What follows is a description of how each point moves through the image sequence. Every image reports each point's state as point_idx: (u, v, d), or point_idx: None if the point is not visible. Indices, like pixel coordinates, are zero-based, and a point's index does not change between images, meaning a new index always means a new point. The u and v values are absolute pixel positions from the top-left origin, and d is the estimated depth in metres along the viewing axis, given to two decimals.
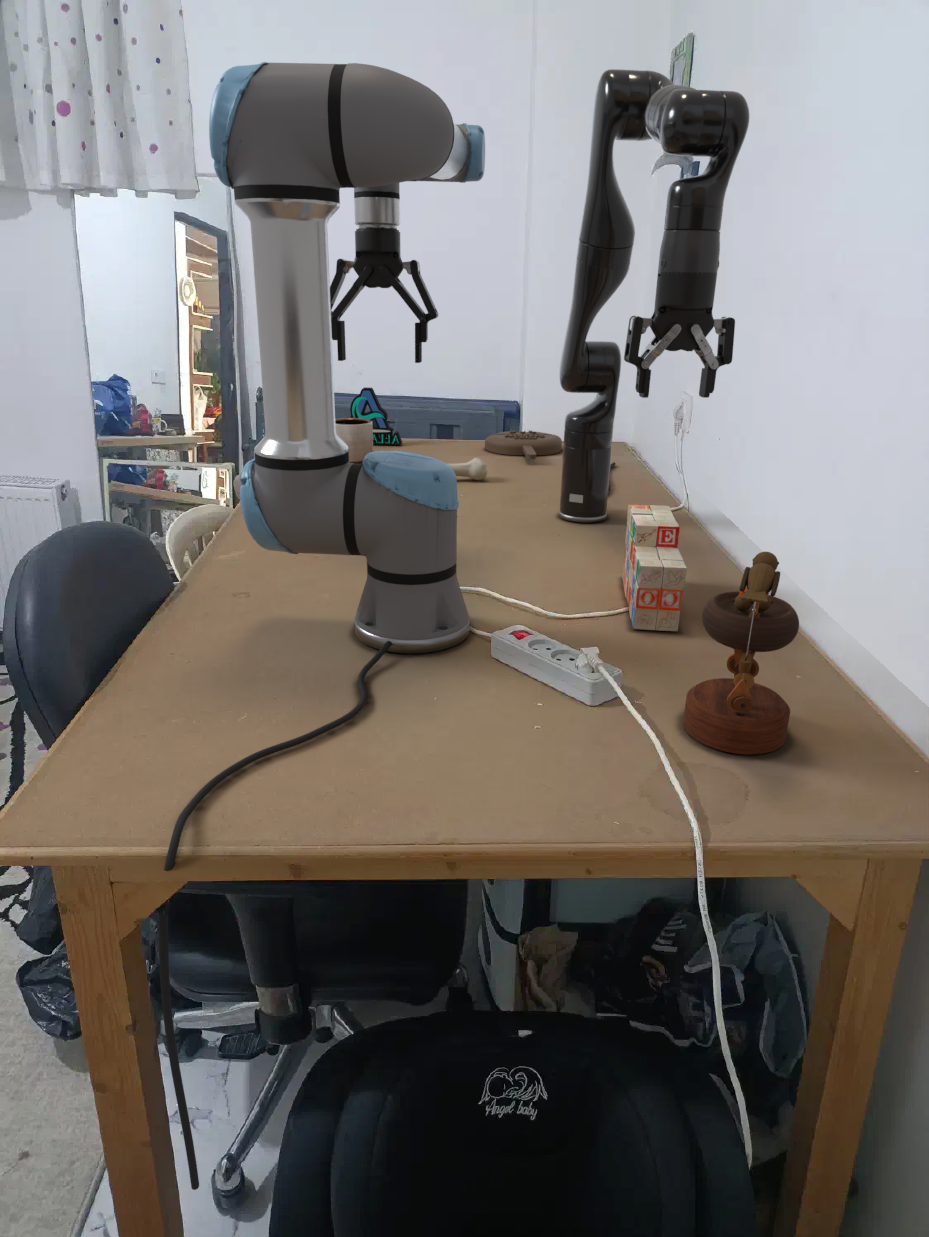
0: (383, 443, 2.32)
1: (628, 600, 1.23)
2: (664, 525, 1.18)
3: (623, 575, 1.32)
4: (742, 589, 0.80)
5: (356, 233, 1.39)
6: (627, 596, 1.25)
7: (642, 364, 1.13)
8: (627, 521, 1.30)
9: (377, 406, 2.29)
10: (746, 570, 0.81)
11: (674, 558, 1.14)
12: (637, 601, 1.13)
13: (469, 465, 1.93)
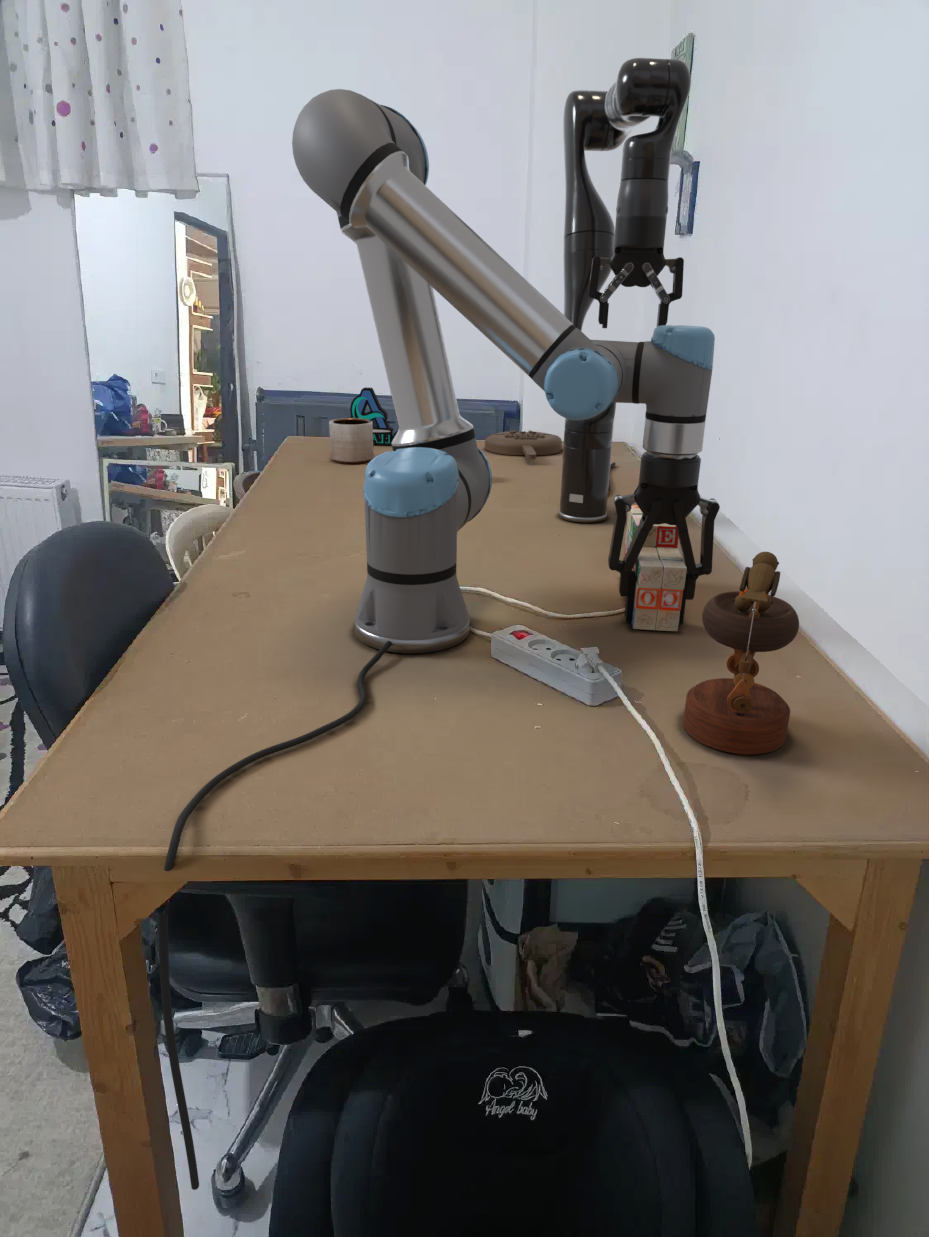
0: (383, 443, 2.32)
1: None
2: (663, 525, 1.18)
3: None
4: (742, 589, 0.80)
5: (647, 462, 1.07)
6: None
7: (601, 298, 1.31)
8: (627, 521, 1.30)
9: (377, 406, 2.29)
10: (746, 570, 0.81)
11: (674, 558, 1.14)
12: (637, 601, 1.13)
13: None
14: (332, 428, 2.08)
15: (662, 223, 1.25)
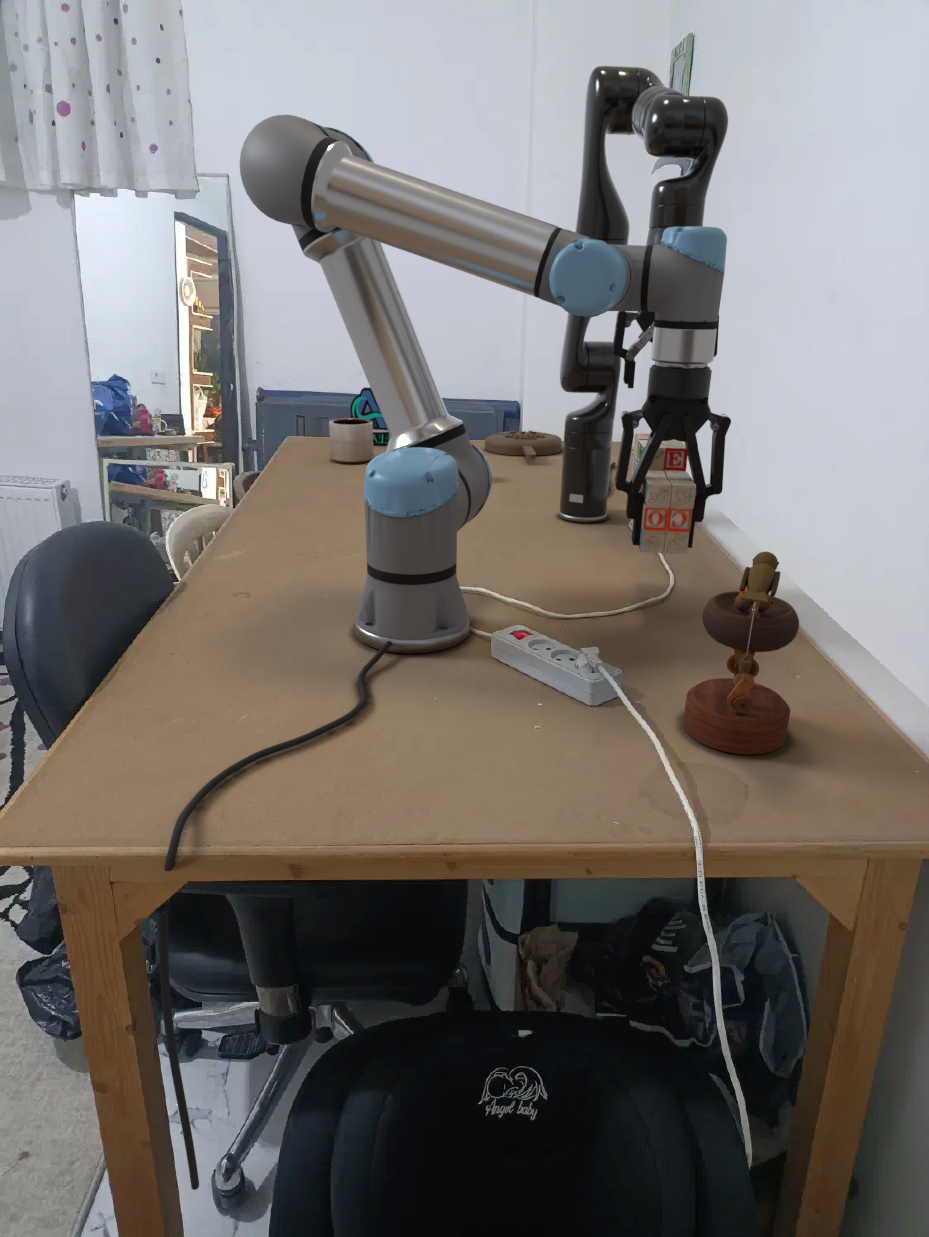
0: (383, 443, 2.32)
1: None
2: (672, 447, 1.14)
3: None
4: (742, 589, 0.80)
5: (656, 373, 1.03)
6: None
7: (626, 356, 1.19)
8: None
9: (377, 406, 2.29)
10: (746, 570, 0.81)
11: (682, 478, 1.10)
12: (644, 522, 1.09)
13: None
14: (332, 428, 2.08)
15: None
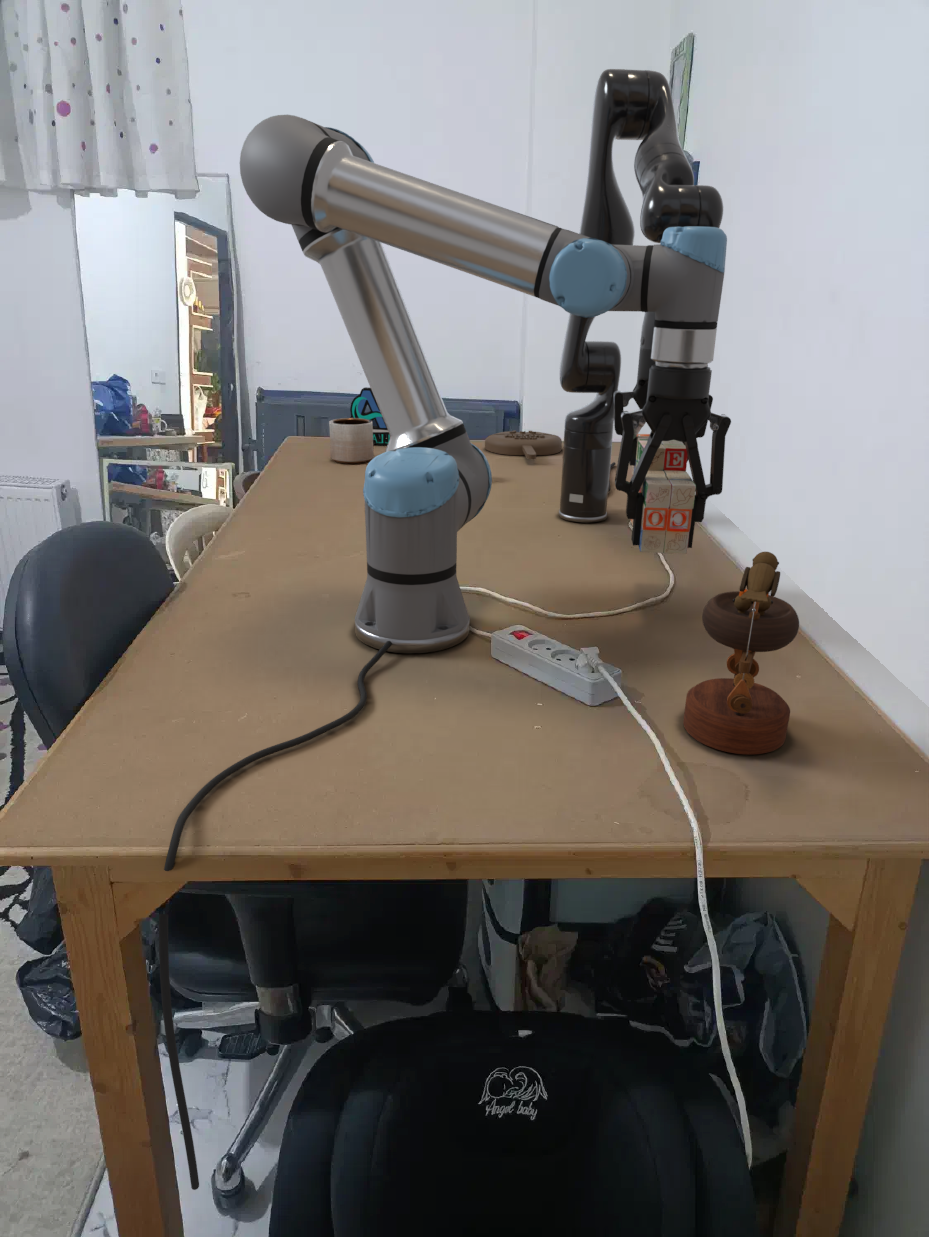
0: (383, 443, 2.32)
1: None
2: (671, 447, 1.14)
3: None
4: (742, 589, 0.80)
5: (656, 373, 1.03)
6: None
7: None
8: None
9: (377, 406, 2.29)
10: (746, 570, 0.81)
11: (682, 478, 1.10)
12: (644, 522, 1.09)
13: None
14: (332, 428, 2.08)
15: None
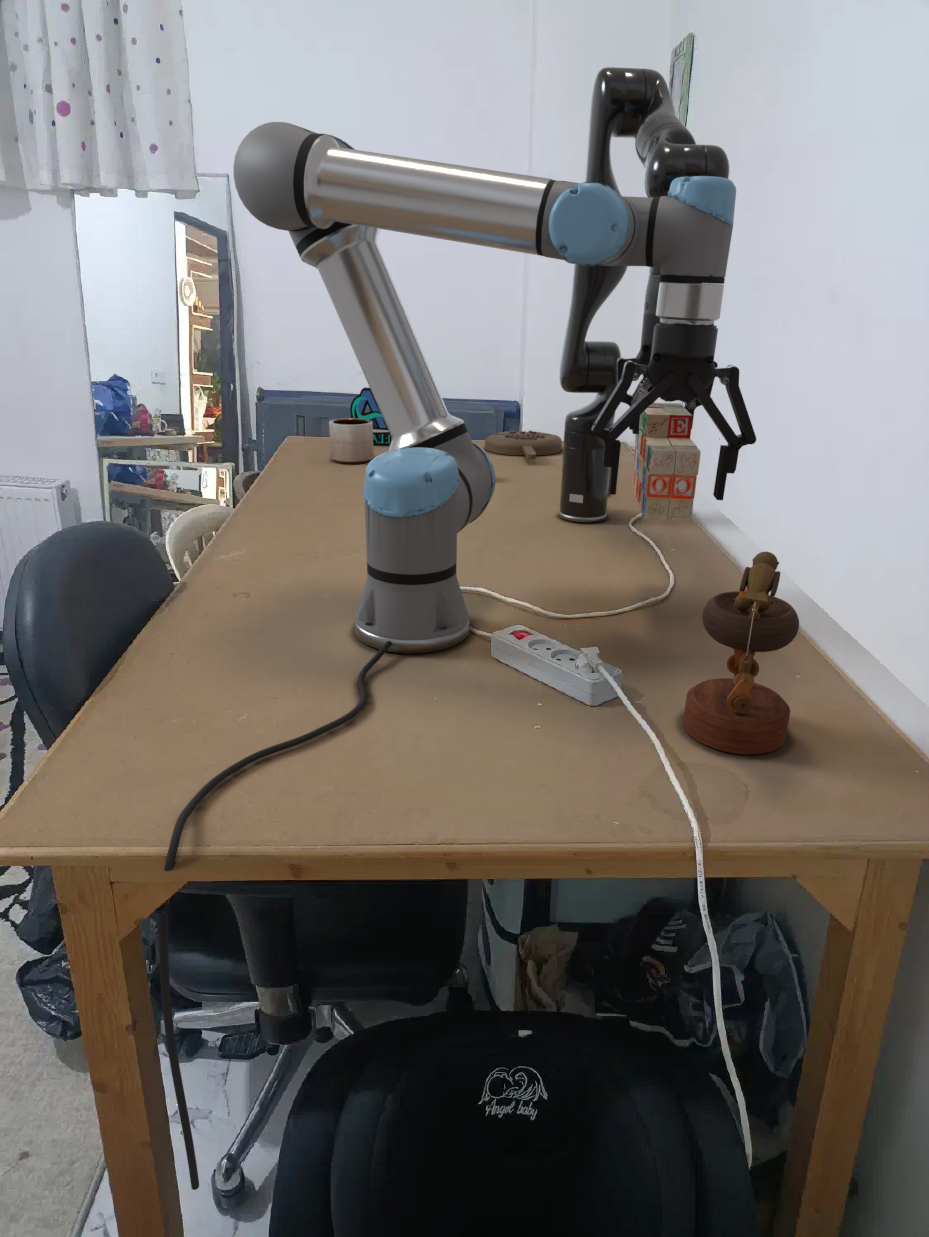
0: (383, 443, 2.32)
1: (638, 497, 1.17)
2: (676, 414, 1.13)
3: None
4: (742, 589, 0.80)
5: (661, 330, 1.00)
6: (637, 495, 1.19)
7: (631, 403, 1.20)
8: None
9: (377, 406, 2.29)
10: (746, 570, 0.81)
11: (686, 445, 1.08)
12: (648, 489, 1.07)
13: None
14: (332, 428, 2.08)
15: None
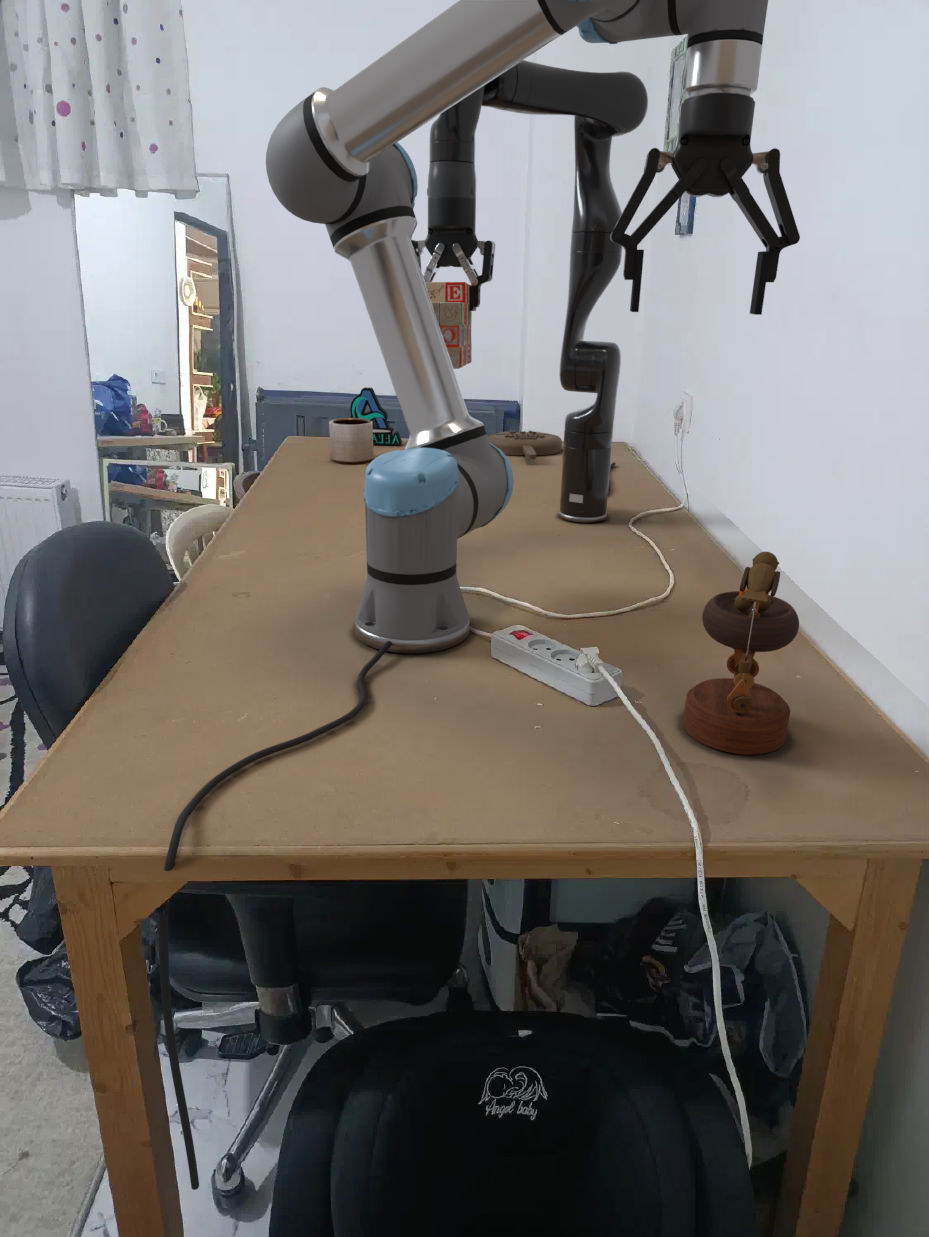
0: (383, 443, 2.32)
1: None
2: (451, 282, 1.28)
3: None
4: (742, 589, 0.80)
5: (689, 104, 0.87)
6: None
7: None
8: None
9: (377, 406, 2.29)
10: (746, 570, 0.81)
11: None
12: None
13: None
14: (332, 428, 2.08)
15: (467, 204, 1.29)
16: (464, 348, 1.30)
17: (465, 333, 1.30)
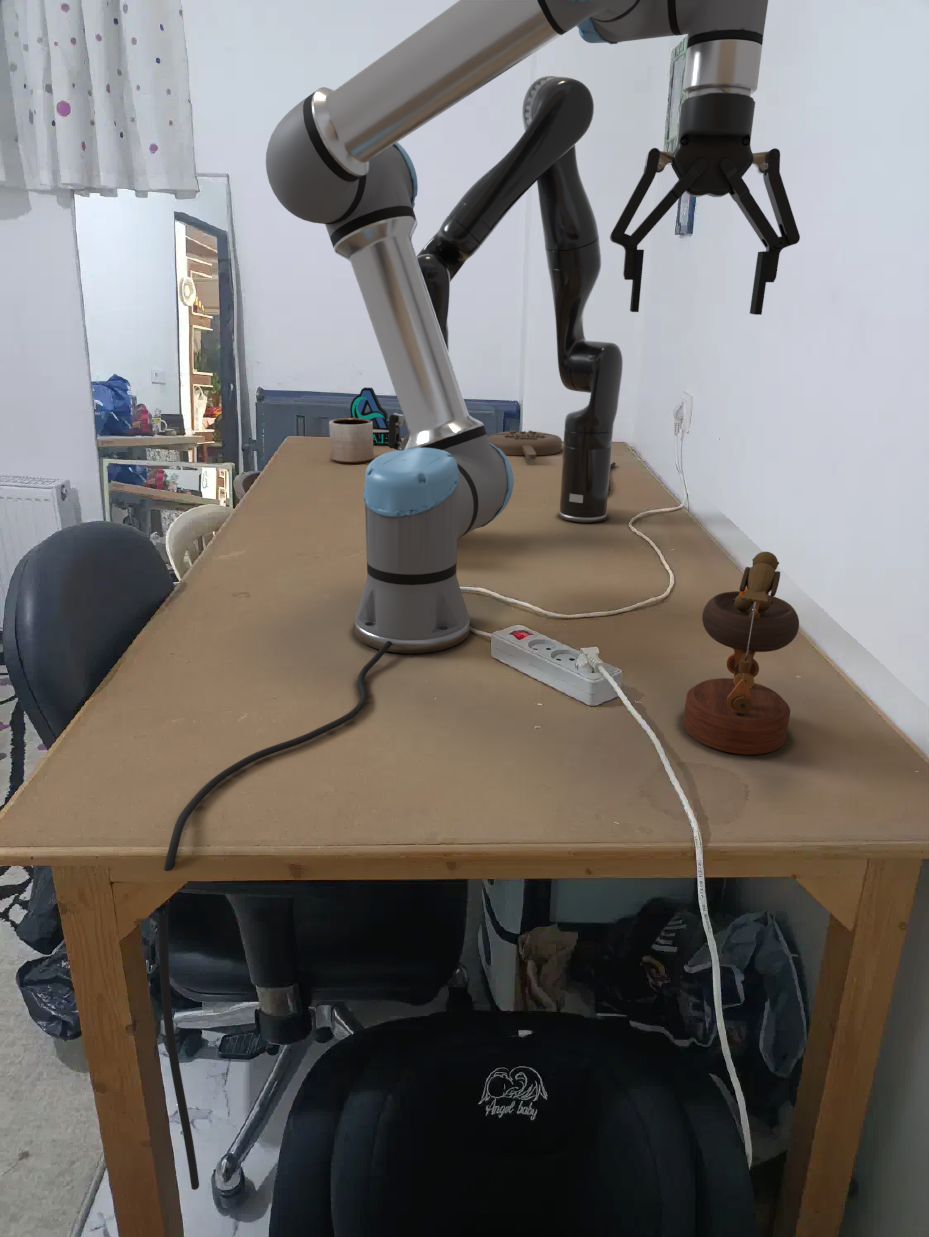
0: (383, 443, 2.32)
1: None
2: None
3: None
4: (742, 589, 0.80)
5: (689, 104, 0.87)
6: None
7: (398, 449, 1.50)
8: None
9: (377, 406, 2.29)
10: (746, 570, 0.81)
11: None
12: None
13: None
14: (332, 428, 2.08)
15: None
16: None
17: None
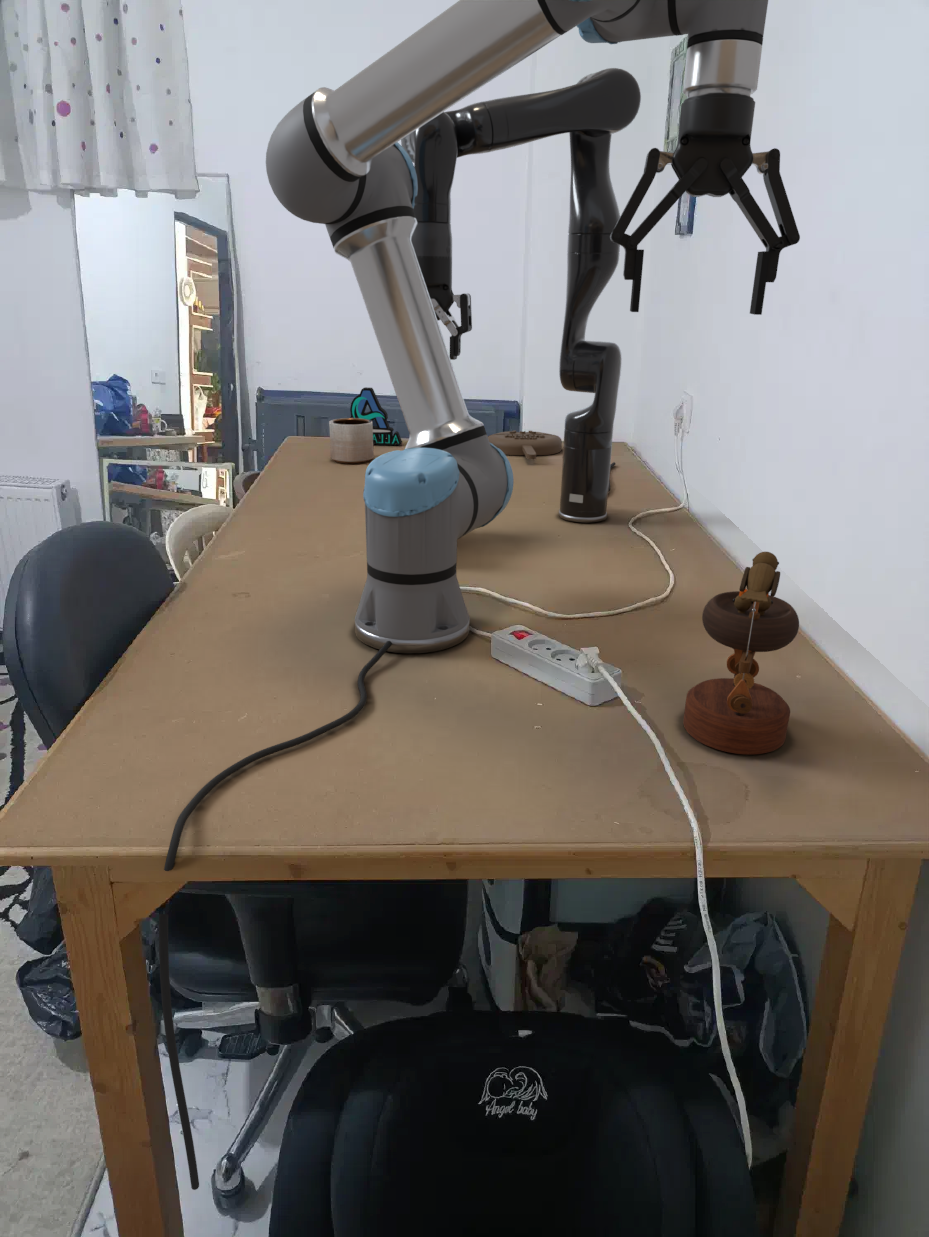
0: (383, 443, 2.32)
1: None
2: None
3: None
4: (742, 589, 0.80)
5: (689, 104, 0.87)
6: None
7: None
8: None
9: (377, 406, 2.29)
10: (746, 570, 0.81)
11: None
12: None
13: None
14: (332, 428, 2.08)
15: (442, 262, 1.35)
16: None
17: None
